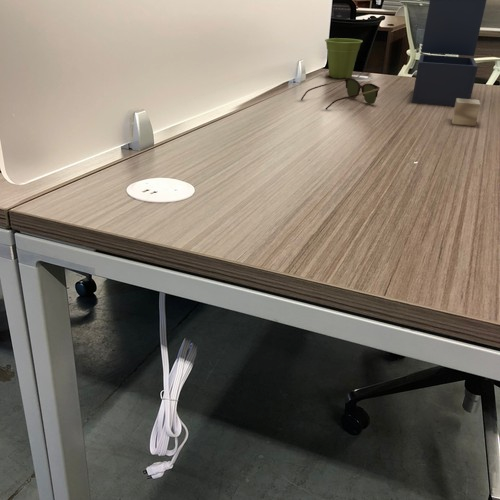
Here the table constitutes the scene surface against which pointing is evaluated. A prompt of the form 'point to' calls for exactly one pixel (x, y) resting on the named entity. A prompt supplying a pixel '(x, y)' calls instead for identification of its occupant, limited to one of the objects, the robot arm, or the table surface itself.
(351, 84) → the sunglasses
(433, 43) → the lid
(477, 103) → the block
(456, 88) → the chest
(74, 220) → the table surface
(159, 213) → the table surface
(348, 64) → the plant pot
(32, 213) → the table surface
